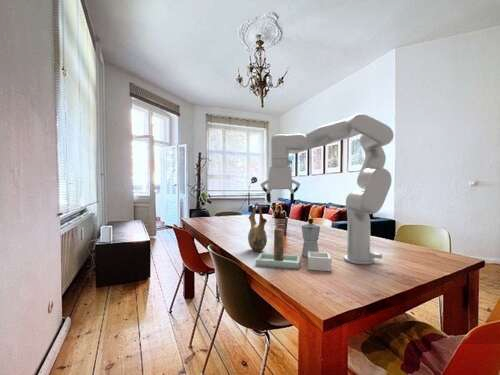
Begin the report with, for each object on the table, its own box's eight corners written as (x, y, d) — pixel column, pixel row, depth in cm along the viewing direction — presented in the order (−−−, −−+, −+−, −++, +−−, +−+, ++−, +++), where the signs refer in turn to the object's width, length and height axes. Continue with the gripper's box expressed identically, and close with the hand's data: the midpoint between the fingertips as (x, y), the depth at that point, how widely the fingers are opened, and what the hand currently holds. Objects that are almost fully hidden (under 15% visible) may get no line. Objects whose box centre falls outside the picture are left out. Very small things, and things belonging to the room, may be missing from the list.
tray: (299, 261, 111) (299, 255, 111) (299, 269, 101) (299, 262, 100) (260, 258, 115) (260, 252, 115) (255, 265, 104) (255, 259, 104)
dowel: (283, 260, 109) (283, 228, 109) (282, 263, 105) (283, 230, 105) (274, 259, 110) (274, 228, 110) (273, 262, 106) (273, 230, 106)
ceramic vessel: (273, 253, 124) (273, 203, 123) (257, 255, 119) (257, 204, 119) (257, 246, 138) (257, 201, 138) (242, 248, 134) (242, 202, 134)
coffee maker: (319, 260, 112) (319, 220, 112) (299, 258, 115) (299, 219, 115) (320, 252, 127) (321, 216, 126) (303, 250, 129) (303, 216, 129)
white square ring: (329, 264, 107) (329, 252, 107) (331, 271, 98) (331, 258, 98) (307, 262, 109) (307, 251, 109) (307, 269, 100) (308, 257, 100)
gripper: (300, 163, 110) (300, 202, 110) (261, 164, 114) (262, 201, 114) (300, 162, 103) (300, 203, 103) (259, 163, 106) (259, 203, 106)
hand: (280, 202), depth 108 cm, fingers open, 9 cm apart
